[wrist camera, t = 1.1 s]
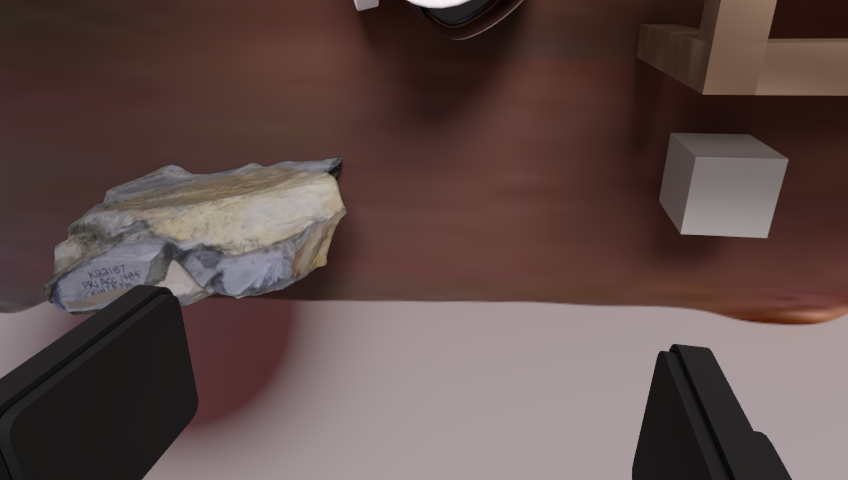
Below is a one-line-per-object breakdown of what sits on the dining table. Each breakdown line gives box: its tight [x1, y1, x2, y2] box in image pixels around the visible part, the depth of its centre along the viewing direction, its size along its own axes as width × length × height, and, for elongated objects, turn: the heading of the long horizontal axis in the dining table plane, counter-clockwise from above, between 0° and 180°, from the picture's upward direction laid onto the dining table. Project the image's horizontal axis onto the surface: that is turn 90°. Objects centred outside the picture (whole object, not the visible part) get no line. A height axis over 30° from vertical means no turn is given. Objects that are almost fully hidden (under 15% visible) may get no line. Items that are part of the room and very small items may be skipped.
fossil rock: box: [43, 156, 347, 315], centre depth 40 cm, size 20×9×15 cm, turn 98°
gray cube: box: [659, 133, 789, 238], centre depth 35 cm, size 5×5×6 cm
